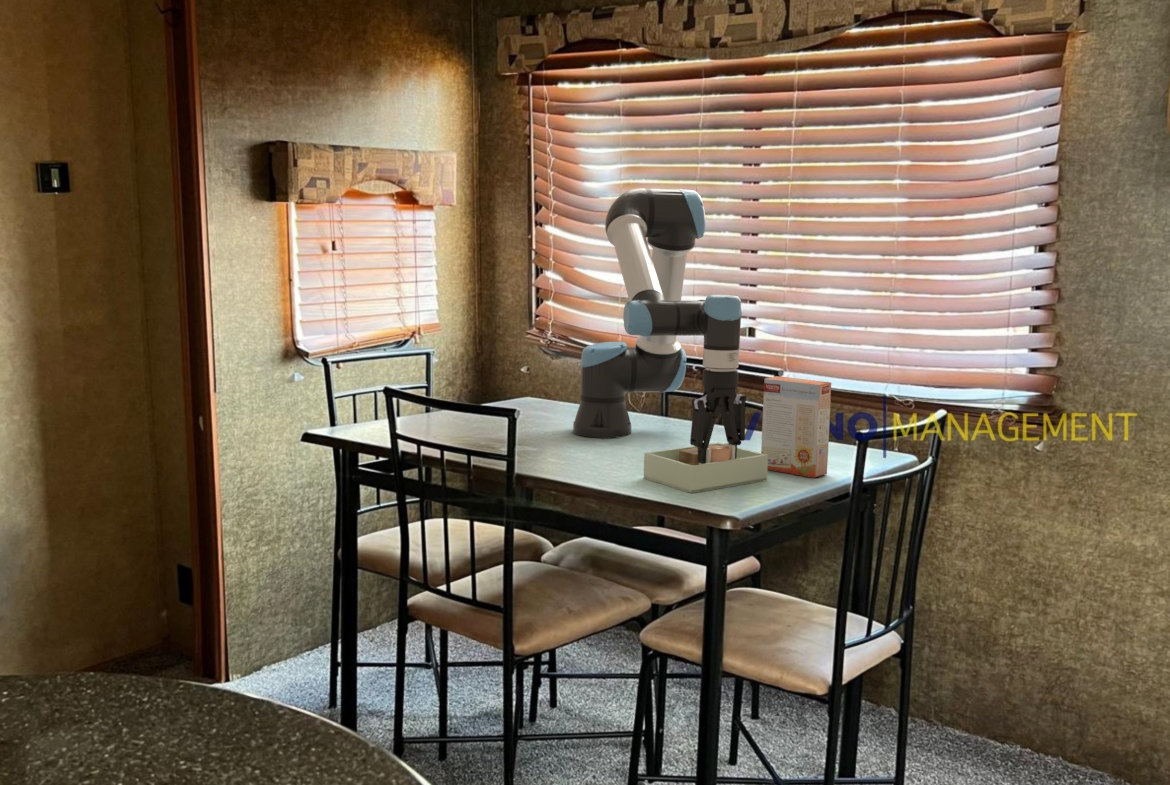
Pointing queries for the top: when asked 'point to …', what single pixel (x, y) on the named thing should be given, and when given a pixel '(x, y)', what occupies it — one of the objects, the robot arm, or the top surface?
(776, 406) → the cracker box
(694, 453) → the walnut cube
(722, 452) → the terracotta cylinder
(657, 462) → the sage tote
